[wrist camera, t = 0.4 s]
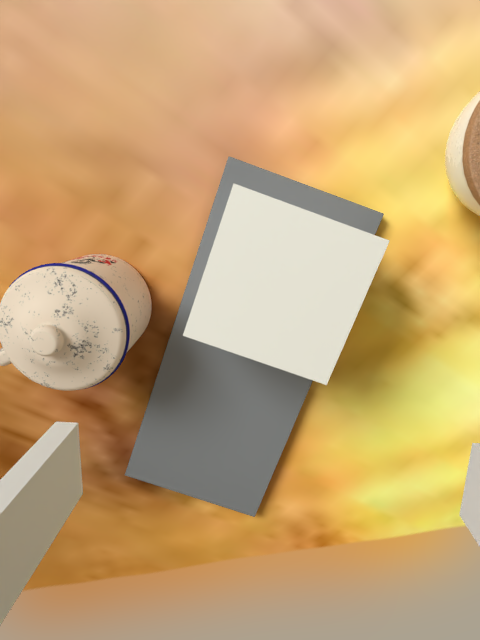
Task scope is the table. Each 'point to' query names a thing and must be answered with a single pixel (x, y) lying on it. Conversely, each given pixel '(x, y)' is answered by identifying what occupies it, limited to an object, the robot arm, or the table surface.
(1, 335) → the teacup with lid
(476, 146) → the lidded jar
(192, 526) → the table surface
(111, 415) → the table surface
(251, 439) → the board
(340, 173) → the table surface
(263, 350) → the block
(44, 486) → the robot arm
